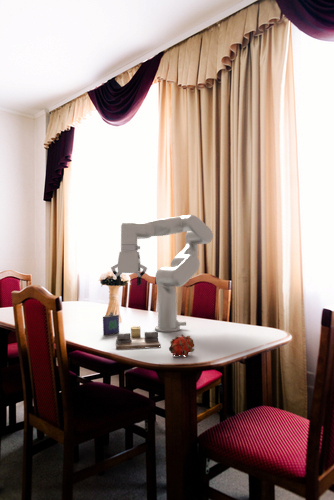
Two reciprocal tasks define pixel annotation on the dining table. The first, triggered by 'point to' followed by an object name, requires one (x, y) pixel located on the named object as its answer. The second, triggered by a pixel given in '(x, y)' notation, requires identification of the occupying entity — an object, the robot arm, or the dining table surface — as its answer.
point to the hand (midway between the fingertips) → (128, 285)
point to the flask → (110, 324)
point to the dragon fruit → (181, 345)
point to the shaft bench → (137, 341)
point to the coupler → (135, 332)
